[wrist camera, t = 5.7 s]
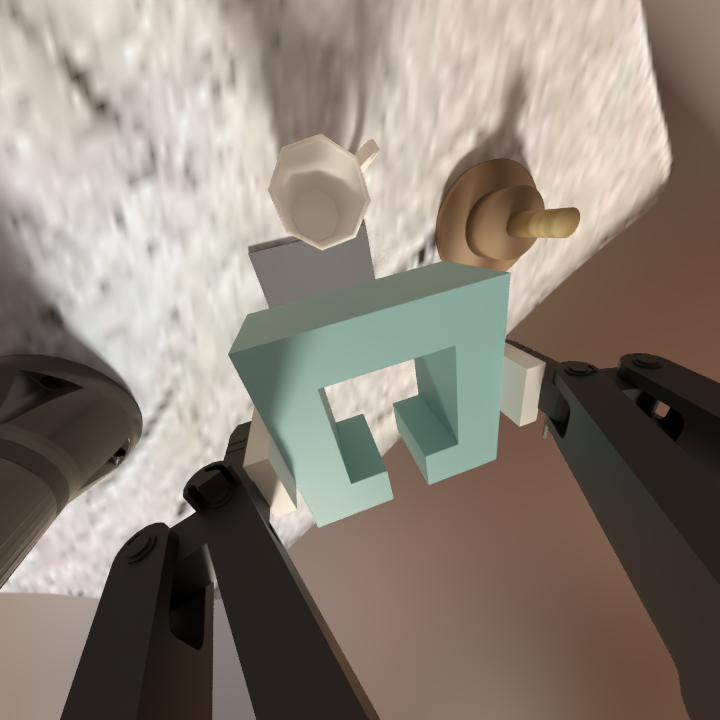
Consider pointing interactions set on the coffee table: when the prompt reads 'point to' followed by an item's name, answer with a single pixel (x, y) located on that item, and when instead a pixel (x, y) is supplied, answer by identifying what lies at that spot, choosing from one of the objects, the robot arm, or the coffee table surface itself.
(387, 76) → the coffee table surface
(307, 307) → the link
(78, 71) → the coffee table surface
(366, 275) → the mat
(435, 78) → the coffee table surface
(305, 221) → the cup
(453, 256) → the stand
